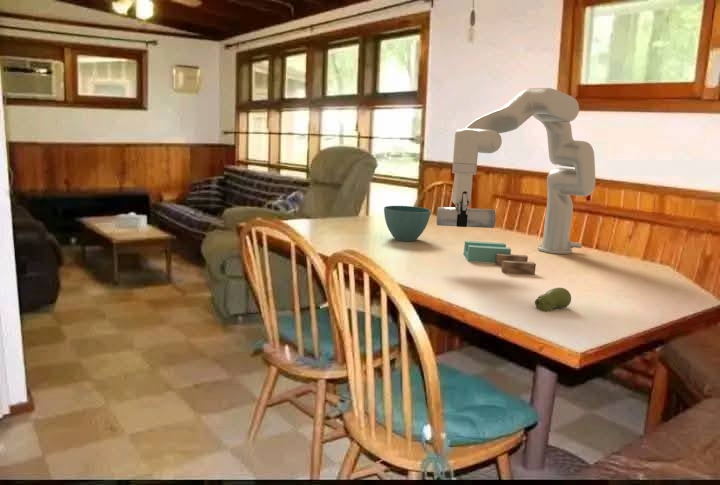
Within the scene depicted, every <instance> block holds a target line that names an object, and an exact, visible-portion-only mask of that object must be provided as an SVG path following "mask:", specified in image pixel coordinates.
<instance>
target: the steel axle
mask: <svg viewBox="0 0 720 485" xmlns="http://www.w3.org/2000/svg"><path fill="white" fill-rule="evenodd" d="M457 214H458V208H455V207H451V206H437V210H436V226H440V227H441V226H443V227H457V226H456V225H457ZM467 215H468V217H467V227H468V228H482V229H484V228H485V229H494V228H495V225H496V218H497V216H496V215H497V214H496V209H489V208H473V207H472V208H469V207H468V213H467ZM467 227H466V228H467Z"/></svg>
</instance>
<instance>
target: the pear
mask: <svg viewBox="0 0 720 485" xmlns="http://www.w3.org/2000/svg"><path fill="white" fill-rule="evenodd" d="M571 302H572V296H571V293H570V291H569V290H568V289H566V288H563V287H554V288H551V289H548V290H547V291H546V292H545V293H542V294H540V295H539V296H538V297H537V298H536V299H535V301H534V306H535V308H536V309H538V310H540V311H541V312H551V311H552V310H553V308H557V309H565V308H567V307H569V306H570V305H571Z"/></svg>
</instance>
